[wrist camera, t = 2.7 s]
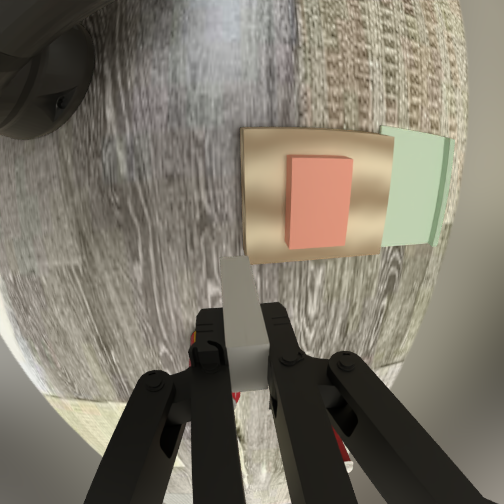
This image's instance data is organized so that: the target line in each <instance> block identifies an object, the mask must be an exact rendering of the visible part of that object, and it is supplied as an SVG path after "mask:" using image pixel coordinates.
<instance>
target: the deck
mask: <svg viewBox="0 0 504 504" xmlns="http://www.w3.org/2000/svg"><path fill="white" fill-rule="evenodd" d="M394 138H395V137H393V136H388V135H384V134H379V133H372V132H363V131H352V130H340V129H326V128H305V127H240V151H241V188H242V222H243V249H244V254H245V256H248V257H249V261H250V265H253V264H266V263H279V262H291V261H304V260H316V259H328V258H339V257H351V256H362V255H374V254H379V253H380V248H381V243H382V237H383V232H384V226H385V220H386V213H387V206H388V199H389V191H390V183H391V174H392V164H393V152H394ZM287 155H336V156H346V157H349V158H351V159H353V172H352V185H351V196H350V206H349V215H348V224H347V232H346V240H345V246H334V247H320V248H306V249H292V250H289V248H288V246H287V244H286V243H285V217H286V173H287Z"/></svg>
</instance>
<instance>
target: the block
mask: <svg viewBox="0 0 504 504" xmlns="http://www.w3.org/2000/svg"><path fill="white" fill-rule="evenodd" d="M352 172H353V159H351V158H349V157H346V156H336V155H287V173H286V217H285V243H286V244H287V246H288V248H289V250H292V249H306V248H320V247H334V246H345V240H346V232H347V224H348V215H349V206H350V196H351V185H352Z"/></svg>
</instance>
